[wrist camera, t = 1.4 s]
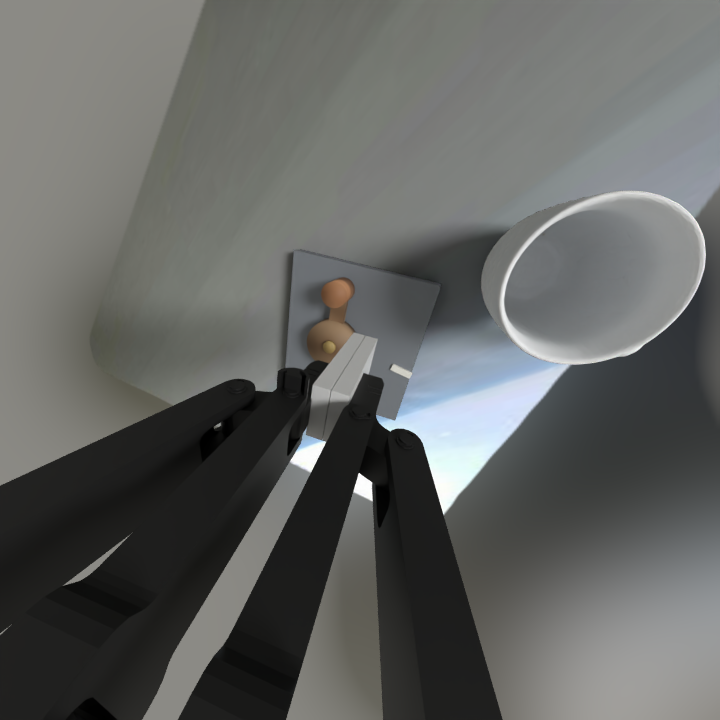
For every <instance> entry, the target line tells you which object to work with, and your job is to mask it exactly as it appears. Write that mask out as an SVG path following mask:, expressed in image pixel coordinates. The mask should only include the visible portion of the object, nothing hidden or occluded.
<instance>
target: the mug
mask: <svg viewBox="0 0 720 720" xmlns="http://www.w3.org/2000/svg"><path fill="white" fill-rule="evenodd" d="M705 257H706V252H705V242H704V237H703V234H702V231H701V229H700V227H699V225H698V223H697V222H696V220H695V219H694V217H693V216H692V215H691V214H690V213H689V212H688V211H687V210H686V209H685V208H683V207H682V206H681V205H680V204H678V203H676V202H674V201H672V200H670V199H668V198H665V197H663V196H661V195H657V194H653V193H649V192H642V191H617V192H609V193H603V194H599V195H595V196H590V197H583V198H580V199H578V200H574V201H568V202H566V203H561V204H558V205H556V206H553V207H549V208H547V209H544V210H542V211H538V212H536V213H535V214H533V215H531V216H528V217H527V218H525V219H524V220H522V221H520V222H518V223H517V224H516V225H514V226H513V227H512V228H511V229H510V230H508V231H507V232H506V233H505V234H504V235H503V236H502V237H501V238H500V239H499V240H498V242H497V243H496V245H494V246H493V249H492V250H491V251H490V254H489V255H488V256H487V260H486V261H485V264H484V267H483V270H482V276H481V290H482V294H483V300H484V302H485V305H486V307H487V309H488V311H489V313H490V315H491V317H492V318H493V319H494V320H495V322H496V324H497V325H498V326H499V328H500V329H501V330H502V331H503V332H504V333H505V334H506V336H507V337H509V339H510V340H511V341H512V342H513V343H514V344H515V345H516V346H518V347H519V348H520V349H521V350H523V351H524V352H526V353H527V354H529V355H531V356H533V357H535V358H538V359H541V360H544V361H547V362H552V363H557V364H572V365H573V364H588V363H595V362H600V361H604V360H608V359H611V358H615V357H618V356H622V357H623V356H627V355H630V354H632V353H634V352H636V351H637V350H638V349H639V348H641V347H642V346H643V345H644V344H645V343H647V342H649V341H650V340H652V339H653V338H654V337H656V336H657V335H659V334H660V333H661V332H662V331H664V330H665V329H666V328H667V327H668V326H669V325H670V324H672V323H673V322H674V320H676V319H677V317H678V316H679V315H680V314H681V313H682V312H683V311H684V309H685V308H686V306H687V305H688V304H689V302H690V301H691V299H692V297H693V296H694V294H695V292H696V290H697V288H698V286H699V283H700V281H701V277H702V275H703V271H704V267H705Z"/></svg>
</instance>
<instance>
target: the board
mask: <svg viewBox="0 0 720 720" xmlns="http://www.w3.org/2000/svg"><path fill="white" fill-rule="evenodd" d="M341 277H345V278H348V279H350V280H351V281H352V282H353V284H354V287H355V293H354V295H353V297H352V298H351V299H350V300H348V306H347V311H346V317H345V321H346V322H347V323H348V324H350V325H351V326H352V328H353V329H354V330H355V332H356V333H358V334H361V335H365V336H369V337H372V338H376V339H377V343H376V347H375V351H374V355H373V359H372V363H371V367H370V371H369V375H373V376H376V377H379V378H382V380H383V382H384V387H383V391H382V394H381V398H380V401H379V405H378V408H377V412H376V415H379V416H382V417H386V418H389V419H392V420H395V419H396V416H397V413H398V410H399V408H400V405H401V402H402V399H403V396H404V393H405V390H406V387H407V384H408V381H409V378H410V377H411V375H412V370H413V367H414V364H415V361H416V358H417V355H418V352H419V349H420V346H421V343H422V341H423V338H424V335H425V332H426V329H427V326H428V323H429V320H430V317H431V314H432V311H433V309H434V306H435V303H436V300H437V297H438V294H439V291H440V288H441V284H440V283H436V282H432V281H428V280H424V279H420V278H415V277H411V276H407V275H403V274H399V273H395V272H391V271H387V270H383V269H379V268H375V267H371V266H367V265H363V264H358V263H354V262H350V261H346V260H342V259H338V258H334V257H330V256H326V255H322V254H318V253H314V252H310V251H305V250H301V249H300V250H294V255H293V269H292V283H291V296H290V310H289V324H288V338H287V351H286V365H285V368H299V369H302V370H304V369H306V367H307V366H308V365H309V364H310V363H311V362H314V361H315V360H314V359H313V358H312V356H311V355H310V353H309V351H308V348H307V336H308V334H309V332H310V330H311V329H312V328H313V327H314V326H315V325H316V324H318V323H319V322H320V321H322V320H324V319H326V318H329V315H330V309H331V308H330V307H328V306H327V305H326V304H325V303H324V302H323V300H322V297H321V291H322V288H323V286H324V285H325V284H327V283H329V282H331V281H333V280H336V279H338V278H341Z"/></svg>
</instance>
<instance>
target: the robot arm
mask: <svg viewBox="0 0 720 720" xmlns="http://www.w3.org/2000/svg"><path fill="white" fill-rule="evenodd" d="M376 343H377V339H376V338H372V337H369V336H365V335H361V334H358V333H353V334H352V335H351V337H350V338H349V339H348V340H347V342H346V343H345V344H344V346H343V347H342V348H341V349H340V351H339V352H338V353H337V354H336V356H335V357H334V358H333V360H332V361H331V362H330V363H326V362H323V361H320V360H316V361H314V362H311V363H310V364H309V365H308V366H307V367H306V369H304V370H302V369H299V368H284V369H281V370H279V371H278V377H277V389H276V390H275V391H274V392H263V391H255V385H254V384H253V383H252V382H251V381H248V380H245V379H232V380H229V381H226V382H224V383H221V384H219V385H217V386H215V387H213V388H211V389H209V390H206V391H204V392H202V393H200V394H198V395H196V396H193V397H191V398H189V399H187V400H185V401H183V402H180V403H178V404H176V405H174V406H172V407H170V408H167V409H165V410H163V411H161V412H159V413H157V414H154V415H152V416H150V417H148V418H146V419H144V420H142V421H139V422H137V423H135V424H133V425H131V426H128V427H126V428H124V429H122V430H120V431H118V432H115V433H113V434H111V435H109V436H107V437H105V438H103V439H100V440H98V441H96V442H94V443H92V444H90V445H87V446H85V447H83V448H81V449H79V450H77V451H74V452H72V453H70V454H68V455H66V456H64V457H61V458H59V459H57V460H55V461H53V462H51V463H48V464H46V465H44V466H42V467H40V468H38V469H35V470H33V471H31V472H29V473H27V474H25V475H22V476H20V477H18V478H16V479H14V480H12V481H10V482H7V483H5V484H3V485H1V486H0V633H1V632H2V631H4V630H5V629H6V628H8V627H9V626H10V625H11V624H12V625H11V626H10V627H9V628H8V629H7V630H6V631H5V632H3V634H1V635H0V720H142V719H143V717H144V715H145V714H146V712H147V710H148V708H149V706H150V705H151V703H152V701H153V699H154V697H155V695H156V694H157V691H158V689H159V687H160V685H161V683H162V681H163V678H164V675H165V672H166V669H167V666H168V664H169V661H170V659H171V657H172V655H173V653H174V651H175V649H176V648H177V646H178V644H179V643H180V641H181V639H182V638H183V636H184V634H185V633H186V631H187V630H188V628H189V626H190V624H191V623H192V621H193V620H194V618H195V616H196V614H197V613H198V611H199V610H200V608H201V606H202V605H203V603H204V601H205V600H206V598H207V597H208V595H209V593H210V592H211V590H212V588H213V587H214V585H215V583H216V582H217V580H218V578H219V577H220V575H221V573H222V572H223V570H224V568H225V567H226V565H227V564H228V562H229V560H230V559H231V557H232V555H233V554H234V552H235V551H236V549H237V547H238V545H239V544H240V542H241V541H242V539H243V537H244V536H245V534H246V532H247V531H248V529H249V528H250V526H251V524H252V523H253V521H254V519H255V517H256V516H257V514H258V513H259V511H260V509H261V508H262V506H263V504H264V503H265V501H266V500H267V498H268V496H269V494H270V493H271V491H272V490H273V488H274V486H275V485H276V483H277V481H278V480H279V478H280V476H281V475H282V473H283V472H284V470H285V468H286V467H287V465H288V463H289V462H290V460H291V458H292V457H293V455H294V454H295V452H296V450H297V449H298V447H299V445H300V444H301V441H302V435H303V432H304V431H305V429H306V427H307V431H306V435H308V436H311V437H314V438H317V439H320V440H322V439H323V441H326V444H325V446H324V448H323V450H322V452H321V454H320V456H319V458H318V460H317V462H316V464H315V466H314V468H313V470H312V472H311V474H310V476H309V478H308V480H307V482H306V484H305V486H304V488H303V490H302V492H301V494H300V496H299V498H298V500H297V502H296V504H295V506H294V508H293V510H292V512H291V514H290V516H289V518H288V520H287V522H286V524H285V526H284V528H283V530H282V532H281V534H280V536H279V538H278V540H277V542H276V544H275V546H274V548H273V550H272V552H271V554H270V556H269V558H268V560H267V562H266V564H265V566H264V568H263V571H262V572H261V574H260V576H259V578H258V580H257V582H256V584H255V586H254V588H253V590H252V592H251V594H250V596H249V598H248V600H247V602H246V604H245V606H244V608H243V610H242V612H241V614H240V616H239V618H238V620H237V622H236V624H235V626H234V628H233V630H232V632H231V633H230V635H229V638H228V639H227V640H226V642H225V644H224V645H223V646H222V647H221V649H220V650H219V651H218V652H217V653H216V654H215V655H214V657H213V658H212V660H211V661H210V663H209V664H208V666H207V667H206V669H205V670H204V672H203V674H202V676H201V678H200V679H199V681H198V683H197V685H196V687H195V688H194V690H193V692H192V694H191V696H190V698H189V700H188V702H187V703H186V705H185V707H184V709H183V711H182V713H181V715H180V717H179V719H178V720H286V718H287V714H288V711H289V708H290V704H291V701H292V697H293V694H294V691H295V687H296V684H297V680H298V677H299V674H300V670H301V667H302V663H303V660H304V657H305V653H306V650H307V646H308V643H309V640H310V636H311V633H312V630H313V626H314V623H315V619H316V616H317V612H318V609H319V606H320V602H321V599H322V595H323V592H324V589H325V585H326V582H327V579H328V575H329V572H330V568H331V565H332V562H333V558H334V555H335V551H336V548H337V545H338V541H339V538H340V534H341V531H342V528H343V524H344V521H345V518H346V514H347V510H348V507H349V504H350V501H351V497H352V494H353V490H354V487H355V484H356V480H357V477H358V473H360V474H361V475H363V476H364V477H366V478H367V479H368V480H370V481H371V482H373V483H372V494H373V515H374V535H375V556H376V577H377V597H378V618H379V640H380V661H381V680H382V681H381V682H382V702H383V720H502V716H501V713H500V709H499V706H498V702H497V699H496V695H495V692H494V688H493V685H492V682H491V678H490V674H489V671H488V668H487V664H486V661H485V657H484V654H483V651H482V647H481V644H480V640H479V636H478V633H477V630H476V626H475V623H474V619H473V616H472V613H471V609H470V606H469V602H468V599H467V595H466V592H465V588H464V585H463V581H462V578H461V575H460V571H459V567H458V564H457V560H456V557H455V554H454V550H453V547H452V543H451V540H450V536H449V533H448V529H447V526H446V523H445V519H444V516H443V512H442V509H441V505H440V502H439V498H438V495H437V491H436V488H435V484H434V481H433V478H432V474H431V471H430V467H429V464H428V460H427V457H426V453H425V450H424V446H423V443H422V442H421V440H420V438H419V437H418V436H417V435H416V434H414V433H413V432H411V431H409V430H405V429H395V430H392V431H391V432H390V431H388V430H387V429H385V428H384V427H382V426H381V425H380V424H379V422H378V421H377V418H376V412H377V408H378V405H379V401H380V398H381V394H382V391H383V387H384V382H383V380H382V378H379V377H376V376H373V375H369V371H370V367H371V363H372V359H373V355H374V351H375V347H376ZM220 422H221V426H220V427H218V428H216V429H214V426H215V425H217V424H219V423H220ZM131 533H132V534H131ZM130 534H131V535H130ZM129 535H130V536H129ZM127 536H129V537H128V538H127V539H126V540H125V541H124V542H123V543H122V544H121V545H120V546H119V547H118V548H117V549H116V550H115V551H114V552H113V553H112V554H111V555H110V556H109V557H108V558H107V559H106V560H105V561H104V562H103V563H102V564H101V565H100V566H99V567H98V568H97V569H96V570H95V571H93V573H91V574H90V575H89V576H87V577H86V578H84V579H83V580H81V581H78V582H75V583H71V584H68V585H65V586H63V585H64V584H65V583H67V582H68V581H69V580H71V579H72V578H73V577H75V576H76V575H77V574H78V573H80V572H81V571H83V570H84V569H85V568H87V567H88V566H89V565H90V564H92V563H93V562H94V561H96V560H97V559H98V558H100V557H101V556H102V555H104V554H105V553H106V552H108V551H109V550H110V549H111V548H113V547H114V546H115V545H116V544H118V543H119V542H121V541H122V540H123V539H125V538H126V537H127Z"/></svg>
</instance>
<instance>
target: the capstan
mask: <svg viewBox="0 0 720 720" xmlns="http://www.w3.org/2000/svg"><path fill="white" fill-rule="evenodd" d="M354 293H355V287H354V284H353V282H352V281H351V280H350V279H348V278H345V277H341V278H338V279H336V280H333V281H331V282H329V283H327V284H325V285H324V286H323V288H322V291H321V297H322V300H323V302H324V303H325V304H326V305H327V306H328V307H330V308H331V309H330V315H329V318H326V319H324V320H322V321H320V322H319V323H318V324H316V325H315V326H314V327H313V328H312V329H311V330H310V332H309V334H308V336H307V348H308V351H309V353H310V355H311V356H312V358H313V359H314V360H315V361H316V360H320V361H323V362H326V363H330V362H331V361H332V360H333V358H334V357H335V356H336V354H337V353H338V352H339V351H340V349H341V348H342V347H343V346H344V344H345V343H346V342H347V340H348V339H349V338H350V337H351V335H352V334H353V333H356V332H355V330H354V329H353V328H352V326H351V325H350V324H348V323H347V322H346V321H345V317H346V311H347V306H348V300H350V299H351V298H352V297H353V295H354Z"/></svg>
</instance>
